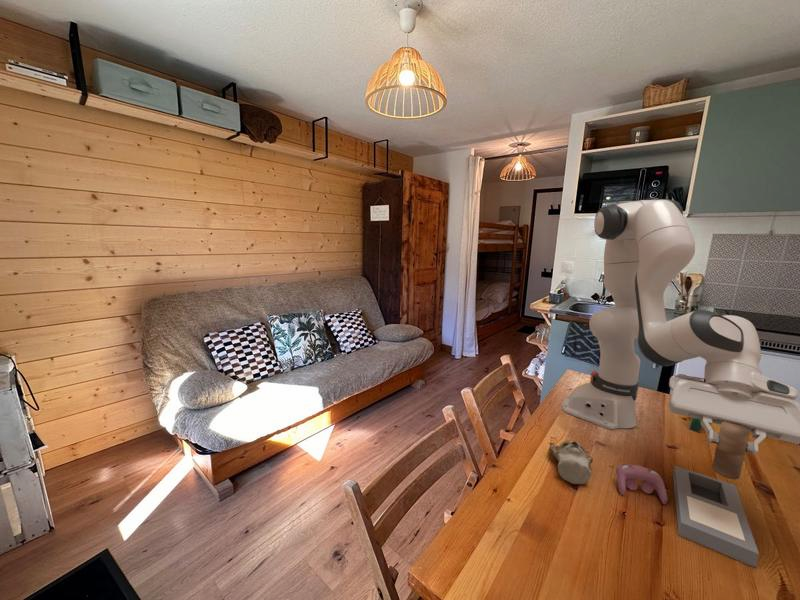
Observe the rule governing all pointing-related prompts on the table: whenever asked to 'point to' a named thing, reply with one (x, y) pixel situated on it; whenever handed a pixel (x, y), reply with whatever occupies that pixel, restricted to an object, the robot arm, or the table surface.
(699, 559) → the table surface
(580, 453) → the ceramic sculpture
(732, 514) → the hole board
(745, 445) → the walnut peg
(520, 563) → the table surface
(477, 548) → the table surface
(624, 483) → the video game controller
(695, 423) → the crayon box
